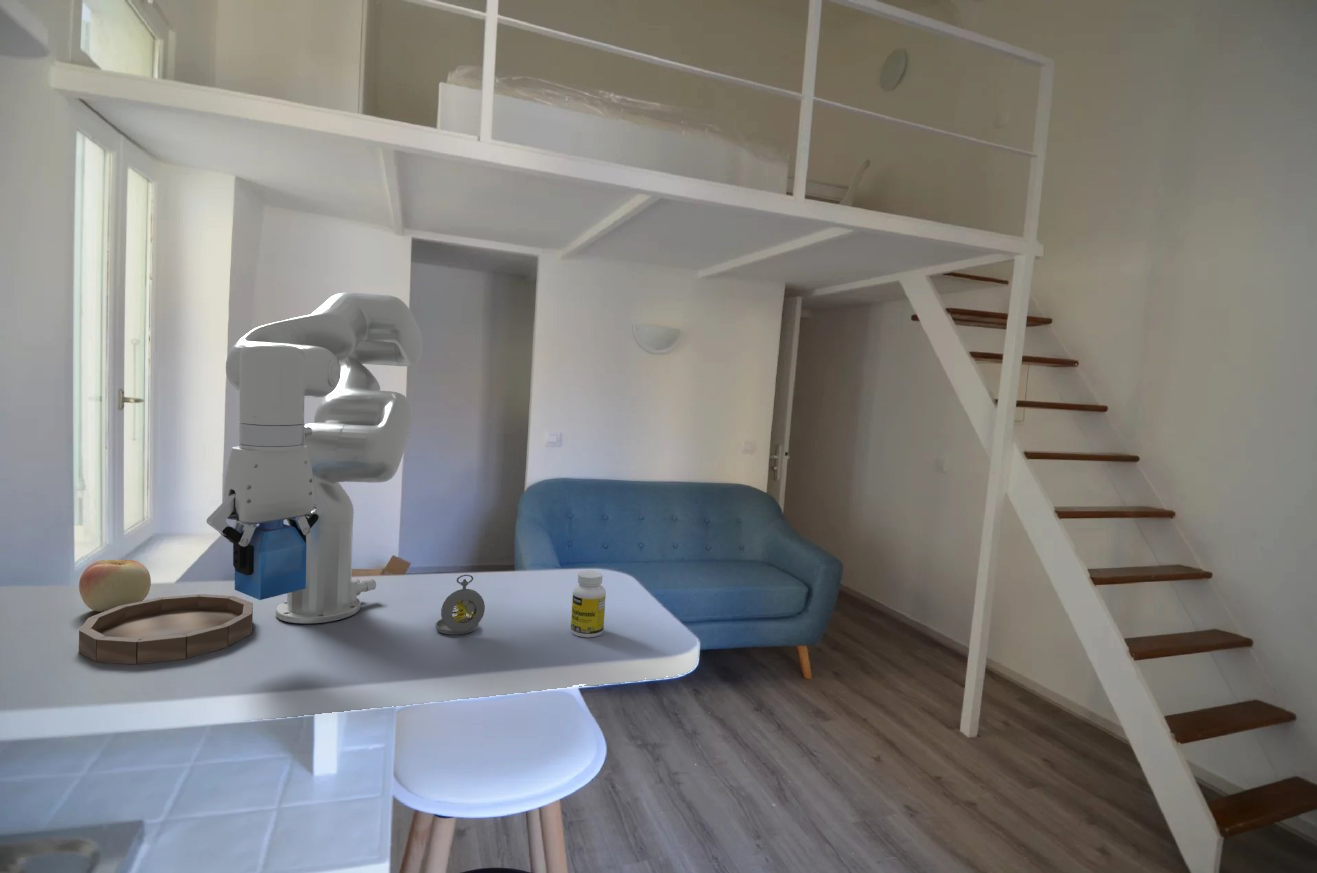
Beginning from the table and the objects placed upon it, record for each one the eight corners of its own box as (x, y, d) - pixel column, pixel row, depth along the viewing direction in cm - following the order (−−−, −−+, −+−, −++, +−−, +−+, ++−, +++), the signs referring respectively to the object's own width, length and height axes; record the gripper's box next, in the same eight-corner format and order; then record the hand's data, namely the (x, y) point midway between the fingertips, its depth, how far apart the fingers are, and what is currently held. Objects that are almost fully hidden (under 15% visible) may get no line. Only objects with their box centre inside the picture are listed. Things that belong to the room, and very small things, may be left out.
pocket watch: (455, 619, 111) (458, 560, 111) (495, 630, 108) (498, 569, 107) (418, 633, 104) (421, 571, 103) (459, 645, 100) (462, 580, 100)
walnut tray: (210, 604, 111) (210, 587, 111) (279, 632, 101) (279, 613, 101) (56, 639, 94) (56, 618, 93) (121, 676, 84) (121, 653, 83)
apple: (68, 611, 104) (68, 561, 104) (132, 597, 112) (133, 551, 112) (98, 623, 100) (98, 571, 100) (162, 607, 108) (163, 559, 108)
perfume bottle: (305, 588, 92) (307, 503, 91) (260, 600, 86) (260, 509, 85) (280, 579, 95) (281, 496, 94) (234, 589, 90) (235, 502, 88)
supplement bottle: (564, 634, 107) (567, 575, 107) (580, 624, 112) (583, 567, 112) (594, 640, 105) (597, 580, 105) (609, 630, 110) (612, 572, 110)
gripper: (316, 431, 98) (314, 549, 100) (185, 436, 83) (186, 576, 85) (348, 436, 94) (345, 559, 96) (217, 443, 79) (217, 589, 81)
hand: (270, 566), depth 90 cm, fingers closed on perfume bottle, 6 cm apart
